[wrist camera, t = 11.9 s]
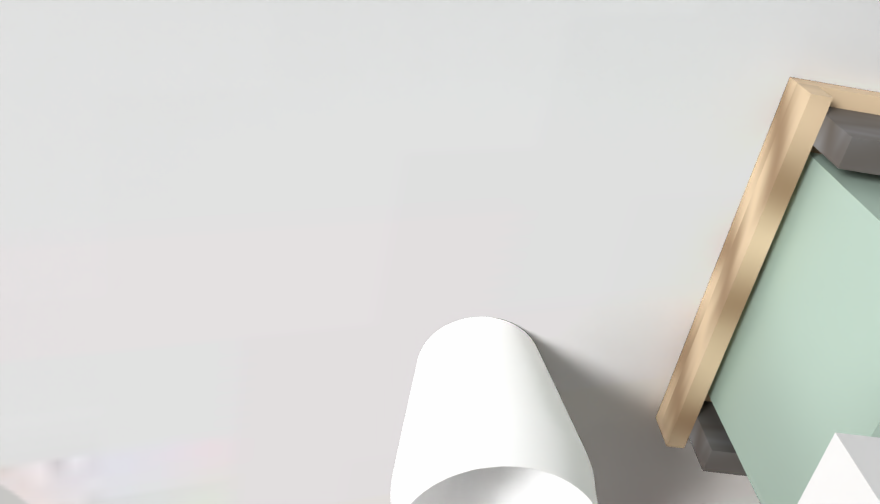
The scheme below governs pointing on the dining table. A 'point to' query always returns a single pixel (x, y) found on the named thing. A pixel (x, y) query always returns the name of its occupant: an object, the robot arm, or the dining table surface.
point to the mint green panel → (807, 335)
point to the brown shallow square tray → (761, 248)
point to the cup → (487, 424)
